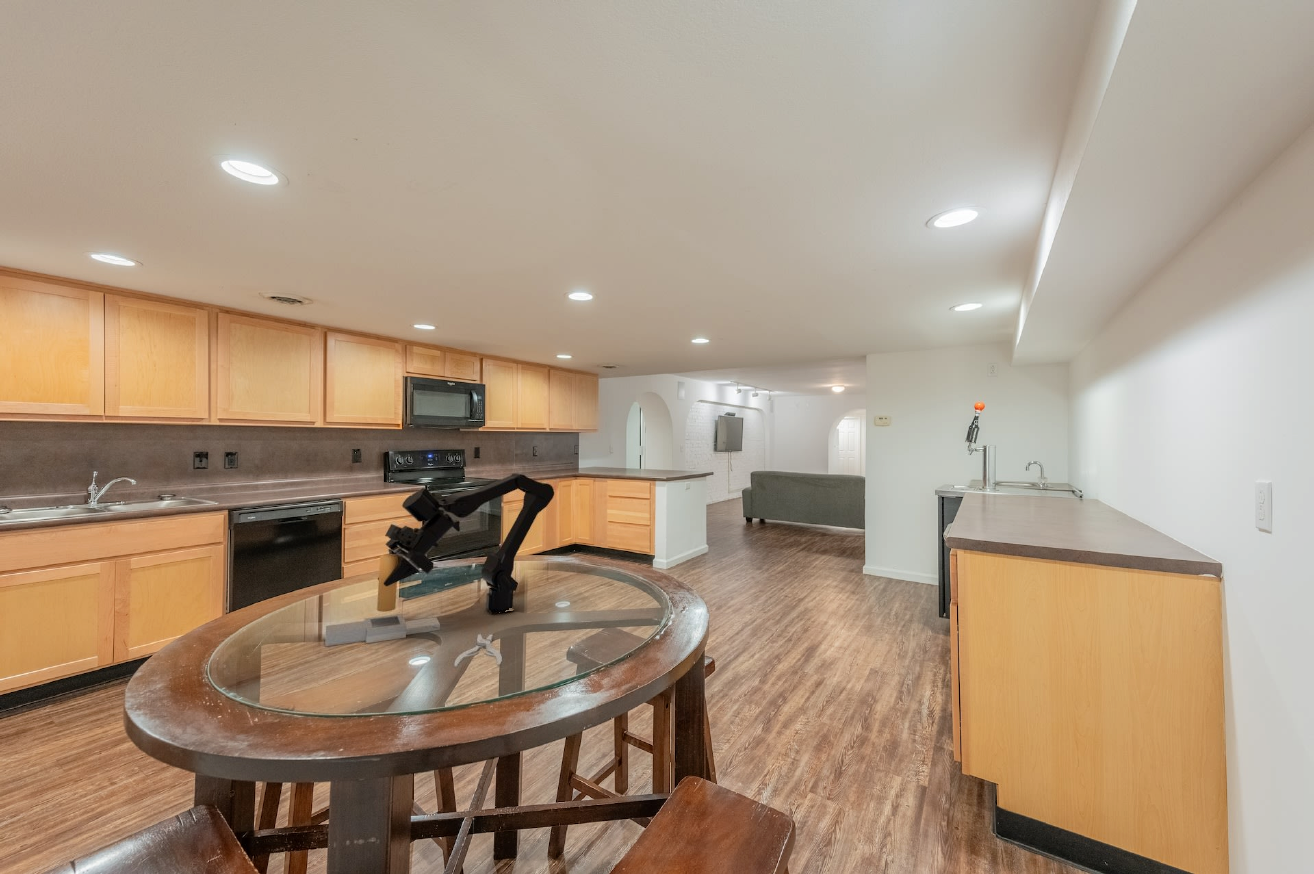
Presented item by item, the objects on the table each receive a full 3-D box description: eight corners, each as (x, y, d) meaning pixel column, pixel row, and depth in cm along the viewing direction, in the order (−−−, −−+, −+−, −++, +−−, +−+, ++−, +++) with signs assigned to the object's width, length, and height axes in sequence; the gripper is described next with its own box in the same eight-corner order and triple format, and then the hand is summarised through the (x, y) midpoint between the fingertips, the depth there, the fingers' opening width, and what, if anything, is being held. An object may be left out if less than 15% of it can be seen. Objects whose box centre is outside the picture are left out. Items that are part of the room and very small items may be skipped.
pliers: (453, 661, 111) (464, 634, 125) (453, 669, 111) (463, 641, 125) (501, 660, 113) (506, 633, 127) (500, 667, 113) (505, 640, 127)
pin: (398, 606, 128) (401, 554, 128) (391, 611, 124) (394, 558, 124) (381, 605, 127) (384, 553, 127) (374, 611, 123) (377, 557, 123)
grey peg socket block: (434, 621, 136) (435, 609, 136) (441, 632, 129) (441, 620, 129) (325, 635, 122) (325, 623, 122) (325, 649, 115) (326, 636, 115)
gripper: (396, 507, 135) (346, 554, 127) (422, 518, 122) (368, 571, 114) (425, 534, 141) (378, 581, 133) (453, 548, 127) (404, 600, 120)
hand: (381, 582), depth 125 cm, fingers closed on pin, 4 cm apart
